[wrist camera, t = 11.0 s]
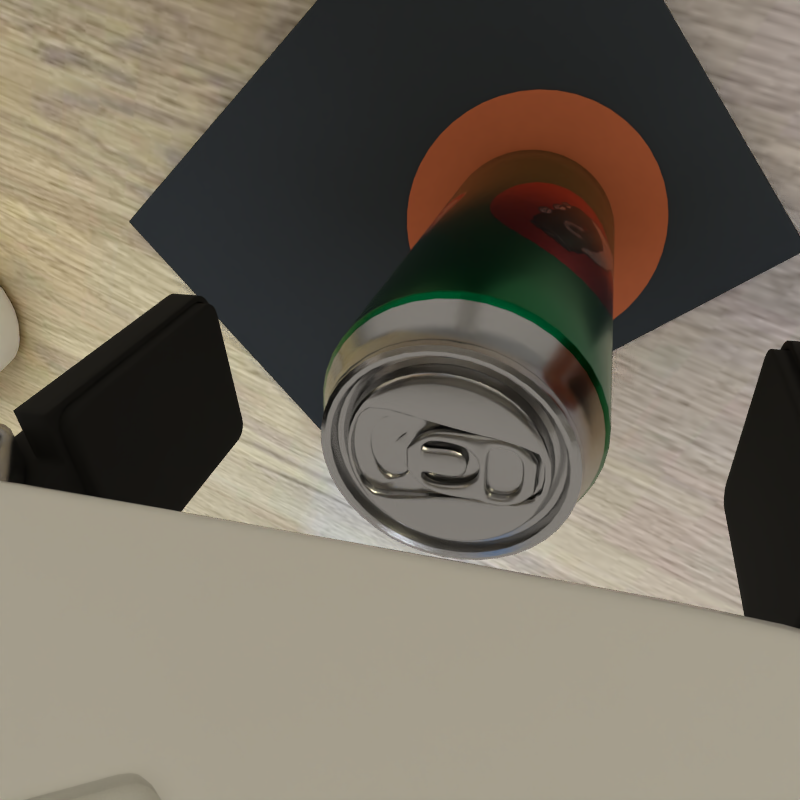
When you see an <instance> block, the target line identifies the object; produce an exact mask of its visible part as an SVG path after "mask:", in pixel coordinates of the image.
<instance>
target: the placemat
mask: <svg viewBox="0 0 800 800" xmlns="http://www.w3.org/2000/svg"><path fill="white" fill-rule="evenodd" d="M519 150H543V151H550V152H553V153H557V154H560V155H563V156H565V157H567V158H569V159H572V160H574V161H576V162H577V163H578V164H580V165H581V166H583V167H584V168H585V169H587V170H588V171H589V172H590V173H591V174H592V175H593V176H594V177H595V178H596V179H597V181H598V182H599V184H600V185H601V187H602V188H603V190H604V191H605V193H606V195H607V198H608V200H609V202H610V205H611V208H612V212H613V216H614V227H615V243H614V294H613V344H612V351H613V350H615V349H617V348H619V347H621V346H623V345H625V344H627V343H629V342H631V341H632V340H634V339H636V338H638V337H640V336H642V335H644V334H646V333H648V332H650V331H652V330H654V329H655V328H657V327H659V326H661V325H663V324H665V323H667V322H669V321H671V320H673V319H675V318H677V317H678V316H680V315H682V314H684V313H686V312H688V311H690V310H692V309H694V308H696V307H698V306H699V305H701V304H703V303H705V302H707V301H709V300H711V299H713V298H715V297H717V296H719V295H721V294H722V293H724V292H726V291H728V290H730V289H732V288H734V287H736V286H738V285H740V284H742V283H744V282H745V281H747V280H749V279H751V278H753V277H755V276H757V275H759V274H761V273H763V272H765V271H767V270H768V269H770V268H772V267H774V266H776V265H778V264H780V263H782V262H784V261H786V260H788V259H790V258H791V257H793V256H795V255H797V254H799V253H800V235H799V234H798V232H797V230H796V229H795V227H794V225H793V223H792V222H791V220H790V218H789V216H788V215H787V213H786V211H785V210H784V208H783V206H782V204H781V203H780V201H779V199H778V197H777V196H776V194H775V192H774V191H773V189H772V187H771V185H770V184H769V182H768V180H767V178H766V177H765V175H764V173H763V172H762V170H761V168H760V166H759V165H758V163H757V161H756V159H755V158H754V156H753V154H752V153H751V151H750V149H749V147H748V146H747V144H746V142H745V140H744V139H743V137H742V135H741V134H740V132H739V130H738V128H737V127H736V125H735V123H734V121H733V120H732V118H731V116H730V115H729V113H728V111H727V109H726V108H725V106H724V104H723V102H722V101H721V99H720V97H719V96H718V94H717V92H716V90H715V89H714V87H713V85H712V83H711V82H710V80H709V78H708V77H707V75H706V73H705V71H704V70H703V68H702V66H701V64H700V63H699V61H698V59H697V58H696V56H695V54H694V52H693V51H692V49H691V47H690V45H689V44H688V42H687V40H686V39H685V37H684V35H683V33H682V32H681V30H680V28H679V26H678V25H677V23H676V21H675V20H674V18H673V16H672V14H671V13H670V11H669V9H668V7H667V6H666V4H665V2H664V1H663V0H317V1H316V3H315V4H314V5H313V6H312V7H311V9H310V10H309V11H308V12H307V13H306V14H305V16H304V17H303V18H302V19H301V20H300V21H299V23H298V24H297V25H296V26H295V27H294V28H293V30H292V31H291V32H290V33H289V34H288V36H287V37H286V38H285V39H284V40H283V41H282V43H281V44H280V45H279V46H278V47H277V48H276V50H275V51H274V52H273V53H272V54H271V55H270V57H269V58H268V59H267V60H266V61H265V63H264V64H263V65H262V66H261V67H260V68H259V70H258V71H257V72H256V73H255V74H254V75H253V77H252V78H251V79H250V80H249V81H248V82H247V84H246V85H245V86H244V87H243V88H242V89H241V91H240V92H239V93H238V94H237V95H236V97H235V98H234V99H233V100H232V101H231V102H230V104H229V105H228V106H227V107H226V108H225V109H224V111H223V112H222V113H221V114H220V115H219V116H218V118H217V119H216V120H215V121H214V122H213V124H212V125H211V126H210V127H209V128H208V129H207V131H206V132H205V133H204V134H203V135H202V136H201V138H200V139H199V140H198V141H197V142H196V143H195V145H194V146H193V147H192V148H191V149H190V151H189V152H188V153H187V154H186V155H185V156H184V158H183V159H182V160H181V161H180V162H179V163H178V165H177V166H176V167H175V168H174V169H173V170H172V172H171V173H170V174H169V175H168V176H167V178H166V179H165V180H164V181H163V182H162V183H161V185H160V186H159V187H158V188H157V189H156V190H155V192H154V193H153V194H152V195H151V196H150V197H149V199H148V200H147V201H146V202H145V203H144V205H143V206H142V207H141V208H140V209H139V210H138V212H137V213H136V214H135V215H134V216H133V217H132V219H131V220H130V221H129V222H130V223H131V224H132V225H133V227H134V228H135V229H136V230H137V231H138V232H139V233H140V234H141V235H142V236H143V237H144V238H145V240H146V241H147V242H148V243H149V244H150V245H151V246H152V247H153V248H154V249H155V250H156V252H157V253H158V254H159V255H160V256H161V257H162V258H163V259H164V260H165V261H166V262H167V263H168V265H169V266H170V267H171V268H172V269H173V270H174V271H175V272H176V273H177V274H178V275H179V276H180V278H181V279H182V280H183V281H184V282H185V283H186V284H187V285H188V286H189V287H190V288H191V290H192V291H193V292H194V293H195V294H196V295H197V296H202V297H204V298H205V299H206V300H207V302H208V303H209V304H211V305H212V306H214V308H215V310H216V312H217V316H218V319H219V320H220V321H221V322H222V323H223V324H224V325H225V326H226V328H227V329H228V330H229V331H230V332H231V333H232V334H233V335H234V336H235V337H236V338H237V339H238V341H239V342H240V343H241V344H242V345H243V346H244V347H245V348H246V349H247V350H248V351H249V352H250V354H251V355H252V356H253V357H254V358H255V359H256V360H257V361H258V362H259V363H260V364H261V366H262V367H263V368H264V369H265V370H266V371H267V372H268V373H269V374H270V375H271V376H272V377H273V379H274V380H275V381H276V382H277V383H278V384H279V385H280V386H281V387H282V388H283V389H284V390H285V392H286V393H287V394H288V395H289V396H290V397H291V398H292V399H293V400H294V401H295V402H296V403H297V405H298V406H299V407H300V408H301V409H302V410H303V411H304V412H305V413H306V414H307V415H308V417H309V418H310V419H311V420H312V421H313V422H314V423H315V424H316V425H317V426H318V427H319V428H320V430H321V424H322V418H323V413H324V398H323V387H324V381H325V375H326V370H327V367H328V365H329V362H330V359H331V356H332V354H333V352H334V350H335V349H336V347H337V345H338V344H339V342H340V340H341V339H342V337H343V336H344V334H345V333H346V332H347V331H348V329H349V328H350V327H351V326H352V324H353V323H354V322H355V320H356V319H357V318H358V317H359V315H360V314H361V313H362V311H363V310H364V309H365V308H366V306H367V305H368V304H369V303H370V301H371V300H372V299H373V297H374V296H375V295H376V294H377V292H378V291H379V290H380V288H381V287H382V286H383V285H384V283H385V282H386V281H387V280H388V278H389V277H390V276H391V274H392V273H393V272H394V271H395V269H396V268H397V267H398V265H399V264H400V263H401V262H402V260H403V259H404V258H405V257H406V255H407V254H408V253H409V251H410V250H411V249H412V248H413V246H414V245H415V244H416V243H417V241H418V240H419V239H420V237H421V236H422V235H423V234H424V232H425V231H426V230H427V228H428V227H429V226H430V225H431V223H432V222H433V221H434V220H435V218H436V217H437V216H438V214H439V213H440V212H441V211H442V209H443V208H444V207H445V205H446V204H447V203H448V202H449V200H450V199H451V198H452V197H453V195H454V194H455V193H456V191H457V190H458V189H459V188H460V186H461V185H462V184H463V183H464V181H465V180H466V179H467V178H468V177H469V176H470V175H471V174H472V173H473V172H474V171H475V170H477V169H478V168H479V167H480V166H481V165H483V164H485V163H486V162H488V161H490V160H492V159H493V158H495V157H498V156H501V155H503V154H506V153H510V152H514V151H519Z"/></svg>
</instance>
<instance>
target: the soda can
mask: <svg viewBox="0 0 800 800" xmlns="http://www.w3.org/2000/svg"><path fill="white" fill-rule="evenodd" d="M614 243H615V227H614V216H613V212H612V208H611V205H610V202H609V200H608V198H607V195H606V193H605V191H604V190H603V188H602V187H601V185H600V184H599V182H598V181H597V179H596V178H595V177H594V176H593V175H592V174H591V173H590V172H589V171H588V170H587V169H585V168H584V167H583V166H581V165H580V164H578V163H577V162H576V161H574V160H572V159H569V158H567V157H565V156H563V155H560V154H557V153H553V152H550V151H543V150H519V151H514V152H510V153H506V154H503V155H501V156H498V157H495V158H493V159H492V160H490V161H488V162H486V163H485V164H483V165H481V166H480V167H479V168H478V169H477V170H475V171H474V172H473V173H472V174H471V175H470V176H469V177H468V178H467V179H466V180H465V181H464V183H463V184H462V185H461V186H460V188H459V189H458V190H457V191H456V193H455V194H454V195H453V197H452V198H451V199H450V200H449V202H448V203H447V204H446V205H445V207H444V208H443V209H442V211H441V212H440V213H439V214H438V216H437V217H436V218H435V220H434V221H433V222H432V223H431V225H430V226H429V227H428V228H427V230H426V231H425V232H424V234H423V235H422V236H421V237H420V239H419V240H418V241H417V243H416V244H415V245H414V246H413V248H412V249H411V250H410V251H409V253H408V254H407V255H406V257H405V258H404V259H403V260H402V262H401V263H400V264H399V265H398V267H397V268H396V269H395V271H394V272H393V273H392V274H391V276H390V277H389V278H388V280H387V281H386V282H385V283H384V285H383V286H382V287H381V288H380V290H379V291H378V292H377V294H376V295H375V296H374V297H373V299H372V300H371V301H370V303H369V304H368V305H367V306H366V308H365V309H364V310H363V311H362V313H361V314H360V315H359V317H358V318H357V319H356V320H355V322H354V323H353V324H352V326H351V327H350V328H349V329H348V331H347V332H346V333H345V334H344V336H343V337H342V339H341V340H340V342H339V344H338V345H337V347H336V349H335V350H334V352H333V354H332V356H331V359H330V362H329V365H328V367H327V370H326V375H325V381H324V387H323V398H324V413H323V418H322V424H321V444H322V449H323V454H324V459H325V462H326V464H327V467H328V470H329V473H330V475H331V477H332V479H333V480H334V482H335V484H336V486H337V488H338V489H339V491H340V492H341V493H342V495H343V496H344V497H345V499H346V500H347V501H348V503H349V504H350V505H351V506H352V507H353V508H354V509H355V510H356V511H357V512H358V513H359V514H360V515H361V516H362V517H363V518H364V519H366V520H367V521H368V522H369V523H371V524H372V525H373V526H374V527H376V528H377V529H379V530H380V531H382V532H383V533H385V534H386V535H388V536H389V537H391V538H393V539H395V540H397V541H399V542H401V543H403V544H405V545H407V546H410V547H412V548H415V549H418V550H420V551H423V552H426V553H430V554H434V555H438V556H442V557H449V558H456V559H469V560H483V559H493V558H500V557H505V556H509V555H513V554H517V553H519V552H522V551H524V550H527V549H530V548H532V547H534V546H535V545H537V544H539V543H541V542H542V541H544V540H546V539H547V538H548V537H549V536H551V535H552V534H553V533H554V532H555V531H557V530H558V529H559V528H560V527H561V525H562V524H563V523H564V522H565V520H566V519H567V518H568V517H569V515H570V514H571V512H572V510H573V508H574V506H575V504H576V503H577V502H578V501H579V500H580V499H581V498H582V497H583V496H584V495H585V494H586V493H587V491H588V490H589V489H590V488H591V486H592V485H593V484H594V483H595V481H596V479H597V477H598V475H599V473H600V472H601V470H602V468H603V466H604V462H605V459H606V456H607V453H608V449H609V442H610V431H611V395H612V344H613V294H614Z"/></svg>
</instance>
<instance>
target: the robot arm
mask: <svg viewBox="0 0 800 800" xmlns="http://www.w3.org/2000/svg"><path fill="white" fill-rule="evenodd" d="M13 411H14V413H15V415H16V417H17V419H18V421H19V423H20V426H21V428H22V430H23V431H21V432H20V433H19V434H18V435H16V436H15V437H14V435H13V433H12V431H11V429H10V428H8V427H7V426H6V425H4V424H0V800H800V342H798V341H786V342H785V343H784V344H783V346H782V348H781V350H777V349H770V350H769V351H768V352H767V354H766V356H765V359H764V362H763V365H762V368H761V372H760V375H759V378H758V382H757V385H756V388H755V391H754V395H753V398H752V401H751V404H750V408H749V411H748V414H747V417H746V421H745V424H744V427H743V431H742V434H741V437H740V440H739V444H738V447H737V450H736V453H735V457H734V460H733V463H732V466H731V470H730V473H729V476H728V479H727V483H726V487H725V493H724V509H725V514H726V520H727V525H728V530H729V536H730V541H731V546H732V552H733V557H734V562H735V568H736V573H737V578H738V584H739V589H740V594H741V600H742V605H743V610H744V616H741V615H736V614H732V613H727V612H722V611H718V610H713V609H708V608H703V607H699V606H694V605H689V604H685V603H680V602H675V601H671V600H665V599H660V598H655V597H649V596H644V595H638V594H633V593H627V592H622V591H617V590H611V589H606V588H600V587H595V586H589V585H584V584H579V583H573V582H568V581H562V580H557V579H551V578H546V577H541V576H535V575H530V574H524V573H519V572H513V571H508V570H503V569H497V568H492V567H486V566H481V565H475V564H470V563H465V562H459V561H453V560H448V559H442V558H437V557H431V556H425V555H420V554H414V553H409V552H403V551H397V550H392V549H386V548H381V547H375V546H369V545H364V544H358V543H353V542H347V541H341V540H336V539H330V538H325V537H319V536H314V535H308V534H302V533H297V532H291V531H286V530H280V529H274V528H269V527H263V526H258V525H252V524H247V523H241V522H235V521H230V520H224V519H219V518H213V517H208V516H202V515H196V514H191V513H185V512H181V511H182V510H183V509H184V507H185V506H186V505H187V504H188V502H189V501H190V500H191V499H192V497H193V496H194V495H195V494H196V492H197V491H198V490H199V489H200V487H201V486H202V485H203V483H204V482H205V481H206V480H207V478H208V477H209V476H210V475H211V473H212V472H213V471H214V470H215V468H216V467H217V466H218V465H219V463H220V462H221V461H222V460H223V458H224V457H225V456H226V455H227V453H228V452H229V451H230V450H231V448H232V447H233V446H234V445H235V443H236V442H237V441H238V440H239V438H240V436H241V433H242V429H243V421H242V416H241V412H240V408H239V404H238V399H237V395H236V391H235V387H234V383H233V379H232V374H231V370H230V366H229V362H228V358H227V354H226V349H225V345H224V341H223V337H222V333H221V329H220V324H219V320H218V316H217V312H216V310H215V308H214V306H212V305H211V304H209V303H208V302H207V300H206V299H205V298H204V297H202V296H197V295H184V294H171V295H169V296H167V297H166V298H165V299H163V300H162V301H161V302H159V303H158V304H156V305H155V306H154V307H152V308H151V309H150V310H148V311H147V312H146V313H144V314H143V315H142V316H140V317H139V318H138V319H136V320H135V321H134V322H132V323H131V324H129V325H128V326H127V327H125V328H124V329H123V330H121V331H120V332H119V333H117V334H116V335H115V336H113V337H112V338H111V339H109V340H108V341H107V342H105V343H104V344H103V345H101V346H100V347H98V348H97V349H96V350H94V351H93V352H92V353H90V354H89V355H88V356H86V357H85V358H84V359H82V360H81V361H80V362H78V363H77V364H76V365H74V366H73V367H71V368H70V369H69V370H67V371H66V372H65V373H63V374H62V375H61V376H59V377H58V378H57V379H55V380H54V381H53V382H51V383H50V384H49V385H47V386H46V387H44V388H43V389H42V390H40V391H39V392H38V393H36V394H35V395H34V396H32V397H31V398H30V399H28V400H27V401H26V402H24V403H23V404H22V405H20V406H19V407H18V408H16V409H15V410H13Z"/></svg>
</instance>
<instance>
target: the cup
mask: <svg viewBox="0 0 800 800" xmlns="http://www.w3.org/2000/svg"><path fill="white" fill-rule="evenodd" d="M19 341H20V337H19V324H18V320H17V316H16V313H15V310H14V308H13V306H12V304H11V302H10V300H9V298H8V297H7V295H6V293H5V292H4V290H3V289H2V288H1V286H0V371H1V370H3V369H4V368H5V367H6V366H7V365H8V364H9V363H10V362H11V361H12V360H13V359H14V358H15V356H16V354H17V351H18V349H19Z"/></svg>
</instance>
